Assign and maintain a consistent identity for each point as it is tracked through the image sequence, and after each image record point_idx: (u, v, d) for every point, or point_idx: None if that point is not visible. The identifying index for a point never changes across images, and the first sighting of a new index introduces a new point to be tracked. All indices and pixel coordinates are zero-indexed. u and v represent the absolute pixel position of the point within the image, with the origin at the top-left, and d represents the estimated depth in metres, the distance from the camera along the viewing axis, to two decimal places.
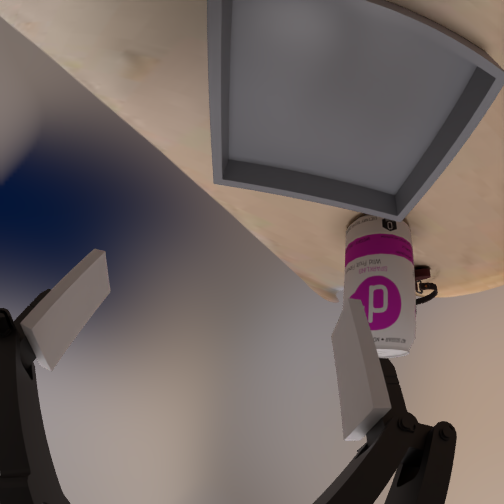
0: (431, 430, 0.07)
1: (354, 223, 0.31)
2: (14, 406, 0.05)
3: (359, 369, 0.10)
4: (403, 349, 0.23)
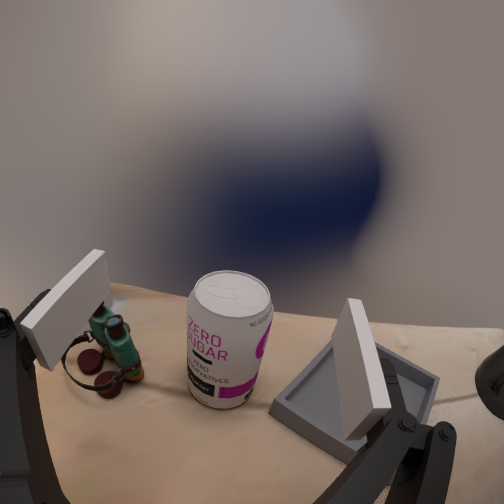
0: (431, 430, 0.07)
1: None
2: (14, 406, 0.05)
3: (359, 369, 0.10)
4: (248, 316, 0.24)
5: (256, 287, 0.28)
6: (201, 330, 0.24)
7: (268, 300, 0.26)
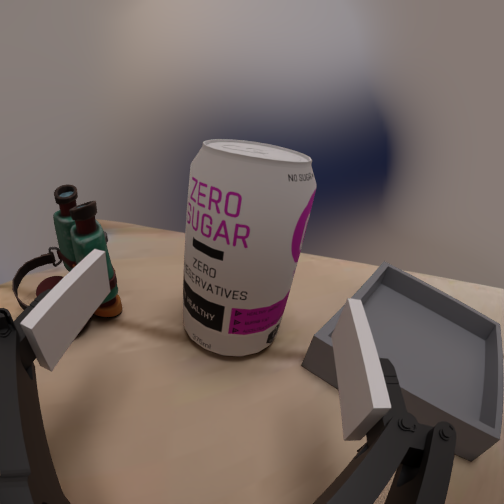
0: (431, 430, 0.07)
1: None
2: (14, 406, 0.05)
3: (359, 369, 0.10)
4: (285, 163, 0.15)
5: (289, 154, 0.19)
6: (210, 189, 0.15)
7: None
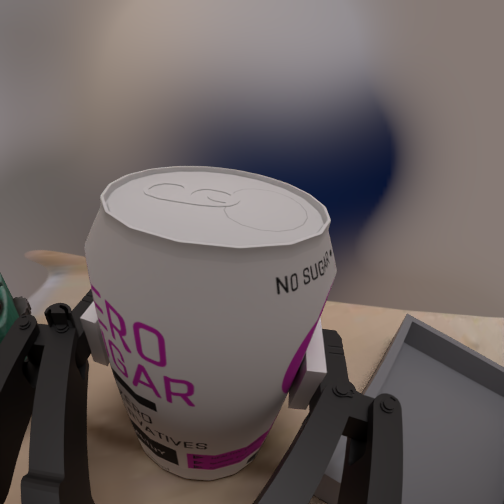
0: (371, 404, 0.09)
1: None
2: (59, 408, 0.06)
3: None
4: (270, 250, 0.06)
5: (284, 195, 0.10)
6: (105, 305, 0.07)
7: (324, 219, 0.08)
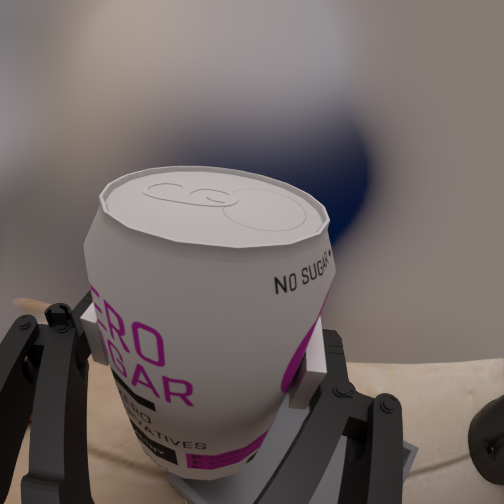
0: (371, 404, 0.09)
1: None
2: (59, 408, 0.06)
3: None
4: (269, 250, 0.06)
5: (283, 195, 0.10)
6: (104, 305, 0.07)
7: (323, 218, 0.08)
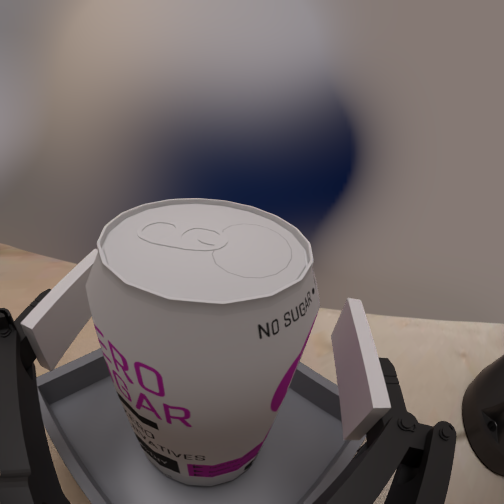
0: (431, 430, 0.07)
1: None
2: (14, 406, 0.05)
3: (359, 369, 0.10)
4: (252, 302, 0.07)
5: (272, 230, 0.11)
6: (108, 344, 0.07)
7: (308, 257, 0.09)
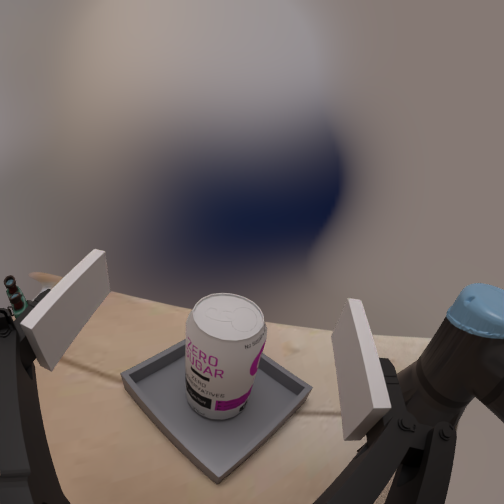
0: (431, 430, 0.07)
1: None
2: (14, 406, 0.05)
3: (359, 369, 0.10)
4: (243, 339, 0.25)
5: (251, 310, 0.29)
6: (199, 351, 0.25)
7: (262, 323, 0.27)
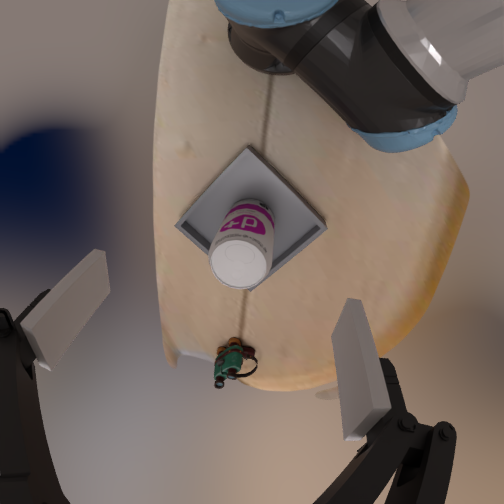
0: (431, 430, 0.07)
1: (239, 201, 0.46)
2: (14, 406, 0.05)
3: (359, 369, 0.10)
4: (264, 256, 0.35)
5: (227, 247, 0.35)
6: None
7: (243, 241, 0.34)
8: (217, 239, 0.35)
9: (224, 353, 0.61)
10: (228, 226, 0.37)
